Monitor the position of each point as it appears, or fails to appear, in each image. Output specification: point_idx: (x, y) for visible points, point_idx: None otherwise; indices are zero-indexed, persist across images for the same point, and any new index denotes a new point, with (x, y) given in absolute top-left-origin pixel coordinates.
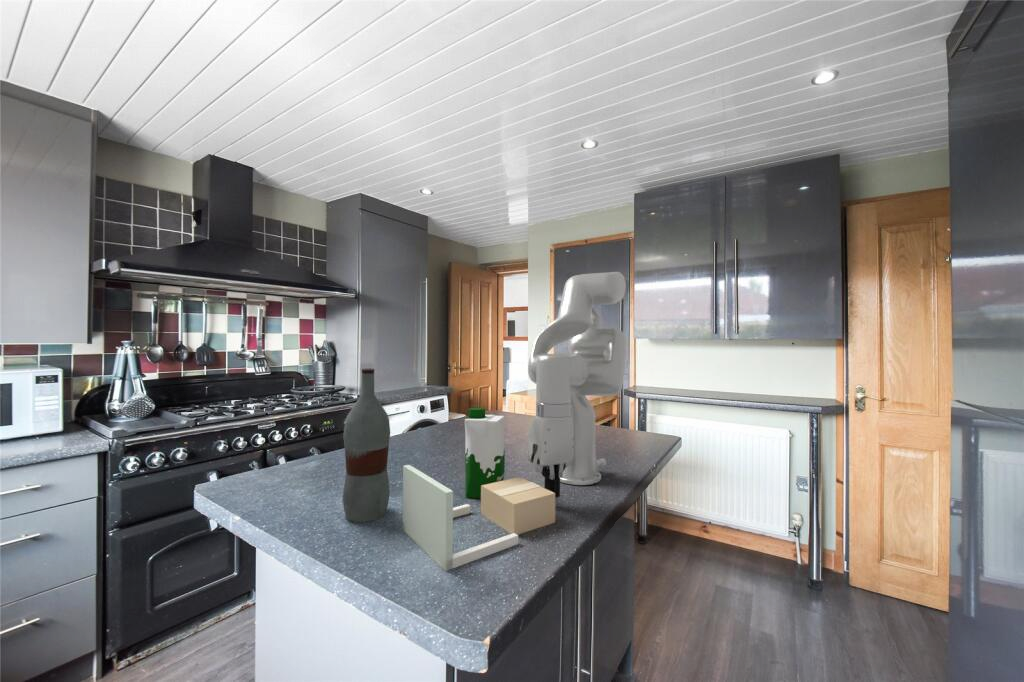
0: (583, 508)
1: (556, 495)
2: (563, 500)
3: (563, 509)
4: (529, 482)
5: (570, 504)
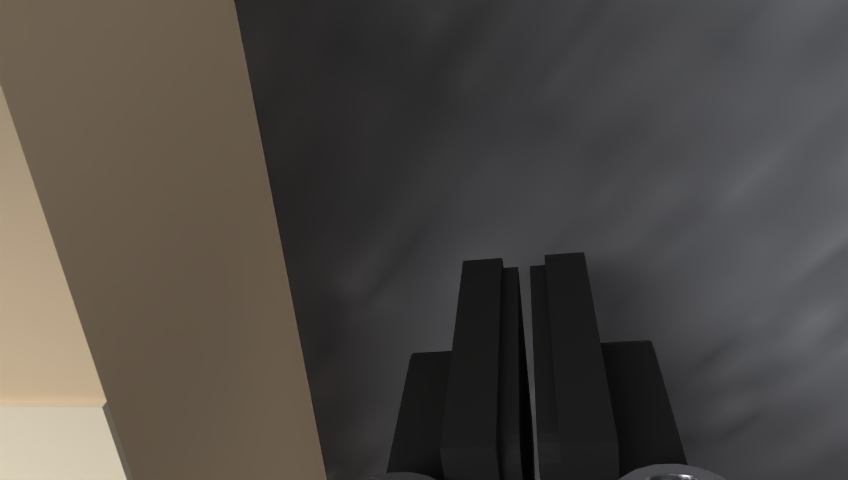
0: (826, 463)
1: (533, 452)
2: (837, 173)
3: None
4: (45, 409)
5: (799, 317)
